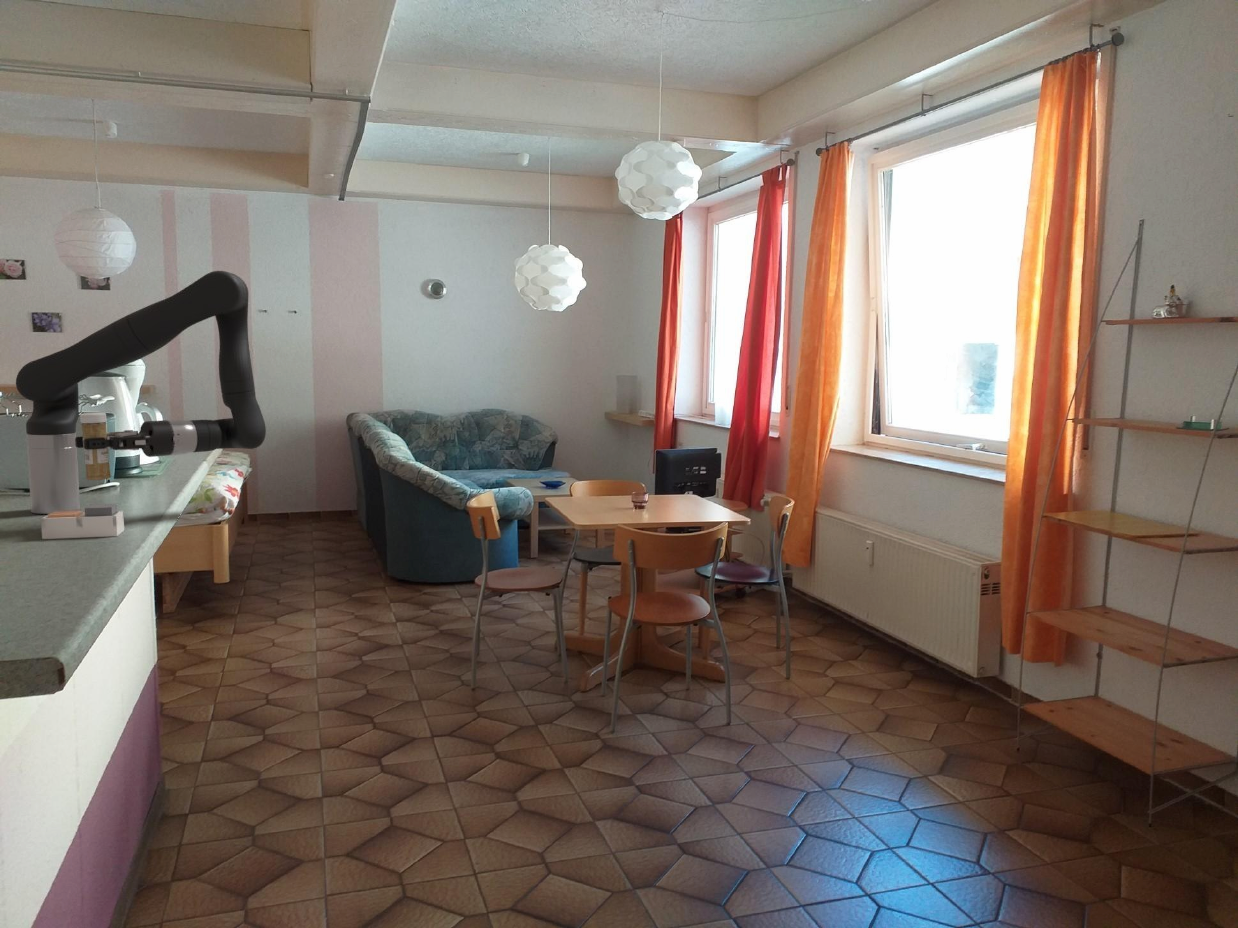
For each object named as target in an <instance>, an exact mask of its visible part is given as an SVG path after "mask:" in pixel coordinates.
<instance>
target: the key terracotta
mask: <svg viewBox="0 0 1238 928" xmlns="http://www.w3.org/2000/svg"><path fill="white" fill-rule="evenodd" d="M82 512H83V511H82V509H81V510H80V509H79V510H76V511H54V512H53V513H51V514H49V515H48V514H47V515H48V518H61V517H78V516H79V515H81V514H82Z"/></svg>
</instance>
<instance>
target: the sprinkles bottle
mask: <svg viewBox="0 0 1238 928" xmlns="http://www.w3.org/2000/svg"><path fill="white" fill-rule="evenodd" d="M79 419H80V420H79V421H80V423H81V430H82V436H83V440H84V439H85V438H102V437H104V438H105V439H106V437H107V433H108V431H107V420H108V419H107V413H105V412H85V413H81V414H80V415H79ZM83 458H84V464H85V473H86V474H85V475H86V476H85V479H86V480H88V481H103V480H108V479H111V478H112V475H111V469H110V452H109V450H108V449H106V447H105V449H91V450H86V449H84V444H83Z"/></svg>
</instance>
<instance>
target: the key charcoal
mask: <svg viewBox="0 0 1238 928" xmlns="http://www.w3.org/2000/svg"><path fill="white" fill-rule="evenodd" d="M117 511H118V504H117V503H99V504H98V503H94V504H93V503H91V504H89V505H87V506H86V507H84V512H85V517H92V516H114V515H115V514H116V513H117Z"/></svg>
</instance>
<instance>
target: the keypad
mask: <svg viewBox="0 0 1238 928" xmlns="http://www.w3.org/2000/svg"><path fill="white" fill-rule="evenodd" d="M50 514H51V513H50ZM48 515H49V514H47V515H44V516H43V517H41V518H40V521H41V522H40V523H41V539H42V540H51V539H52V540H54V539H77V538H78V539H79V538H80V539H81V538H101V537H104V538H106V537H118V536H119V535H120V534H121V533H123V532H124V531H125V520H124V519H125V517H124V516H125V515H124V510H117V513H116V514H115V515H114V516H92V517H85V511H82V514H81V515H79V516H78V517H61V518H48Z"/></svg>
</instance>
